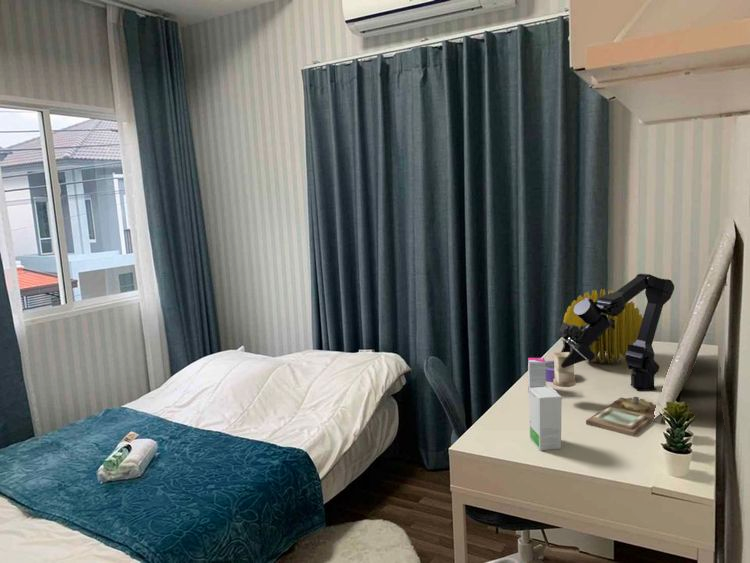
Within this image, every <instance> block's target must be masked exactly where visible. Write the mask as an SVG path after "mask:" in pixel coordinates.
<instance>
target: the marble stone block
mask: <svg viewBox="0 0 750 563" xmlns="http://www.w3.org/2000/svg"><path fill="white" fill-rule="evenodd" d="M569 354H570V352H561V351H560V352H553V361H554V372H555V378H554V379H553V382H552V383H553V385H555V386H557V387H561V388H570V387H574V386H576V383H577V382H576V378H575V364H573V365H570V366H568V367H565V368H563V367H561V365H562V363H563V362H564V360H565V359H566V358H567V356H568V355H569Z"/></svg>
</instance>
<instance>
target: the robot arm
mask: <svg viewBox="0 0 750 563" xmlns="http://www.w3.org/2000/svg"><path fill="white" fill-rule="evenodd" d="M644 290H645V292H644V295H645V297H646V300H647V303H646V306H645V310H644V313H643V315H642V317H643V320H642V323H641V327H640V330H639V334H638V337H637V340H636V342H635V343H633V344H629V345H628V349H627V352H626V354H625V355H626V358H625V362H626V364H627V367H628V368H627V369H628V370H632V373H631V374H630V386H631V387H632V388H634V389H635V391H636V390H637V391H638V392H639V391H641V392H642V391H643V392H644V391H656V390H657V387H655V375H657V373H659V371H660V365H659V364H658V363H657V361H656V360H655V350H654V348H653V342H654V338H655V335H656V332H657V328H658V325H659V322H660V317H661V314H662V310H663V307H664V306H665V304H666V303H667V302H668V301H670V299H671V297H672V295H673V293H674V291H675V284H674V283H673V281H672V280H671V279H668V278H660V277H657V276H654V275H653V274H648V273H638V274H636V275H635V277H634V278H633V279H631V280H630V281H628V282H627V283H626V284H625V285H623V286H621V287H620V288H619V289H617V290H616V291H613V293H611V294H608V293H607V294H606V293H605V295H604V296H602V297H600V296H599V297H598V298H599V299H598V300H597V301H596V302H593V300H592V299H591V298H587V297H585V299H584V300H582V301H580V302H579V303H577V304H576V305H575V307H574V313H575V314H576V315H577V316H578V317H580V318H581V319H582V320H583V321H584V322H585V323H587V324H586V325H585V326H583V325H582V326H580V327H579V328H578V326H575V325H573V324H572V325H570V324H567V323H564V322H562V324H561V326H560V328H559V332H561V335H560V337H561V338H562V344H563V345H562V346H563V347H562V349H561V351H560V352H570V354H569V355H568V356H567V358H566V359H565V360H564V362H563V363H562V365H561V367H563V368H565V367H568V366H570V365H573V364H574V365H576V364H578V363H581V362H584V361H585V362H586V361H587V359H588V361H589V362H590V363H593V362H594V361H593V360H594V359H595V353H593V352H592V351H591V350H590V348H589V347H590V346H591V345H592V344H593V343H594V342H595V341H597V342H598V341H599V339H598V338H599V337H600V336H601V335H602V334H603V333H604V332H605V330H606V329H607V328H608V327H609V326H610V327H611V328H613V329H615V321H614V320H613V319H612V318H608V317H607V316H606V315H610V316H618V315H619V314H620V313H621V312H622V311H623V310H624V309H625V305H626V303H627V302H628V303H629V301H630V300H631V301H632V300H633V299H634V298H635V297H636V296H637V295H639V294H640V293H642V291H644ZM631 301H630V302H631ZM603 314H605V315H603ZM585 358H587V359H585ZM592 361H593V362H592Z"/></svg>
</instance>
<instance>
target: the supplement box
mask: <svg viewBox="0 0 750 563" xmlns="http://www.w3.org/2000/svg"><path fill="white" fill-rule="evenodd" d="M527 360H528V361H527V364H528V365H527V371H528V372H527V373H528V376H527V378H528V390H529V388H537V387H547V384H546V382H547V381H546V362H545V361H546V360H545V357H528V358H527ZM528 394H530V392H529V391H528Z"/></svg>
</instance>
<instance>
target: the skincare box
mask: <svg viewBox="0 0 750 563" xmlns="http://www.w3.org/2000/svg"><path fill="white" fill-rule="evenodd" d="M529 392H530V393H529ZM528 393H529V440H530V441H531V442H532V443H533V444H534V445H535V446H536V448H537V449H538V450H539V451H540V452H543V451H551V450H560V449H562V404H563V403H562V401H563V400H562V396H561V395H560V394H559V393H558V392H557V390H555V389H553V388H552V387H551V385H548V386H547V385H546V387H537V388H529V389H528Z"/></svg>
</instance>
